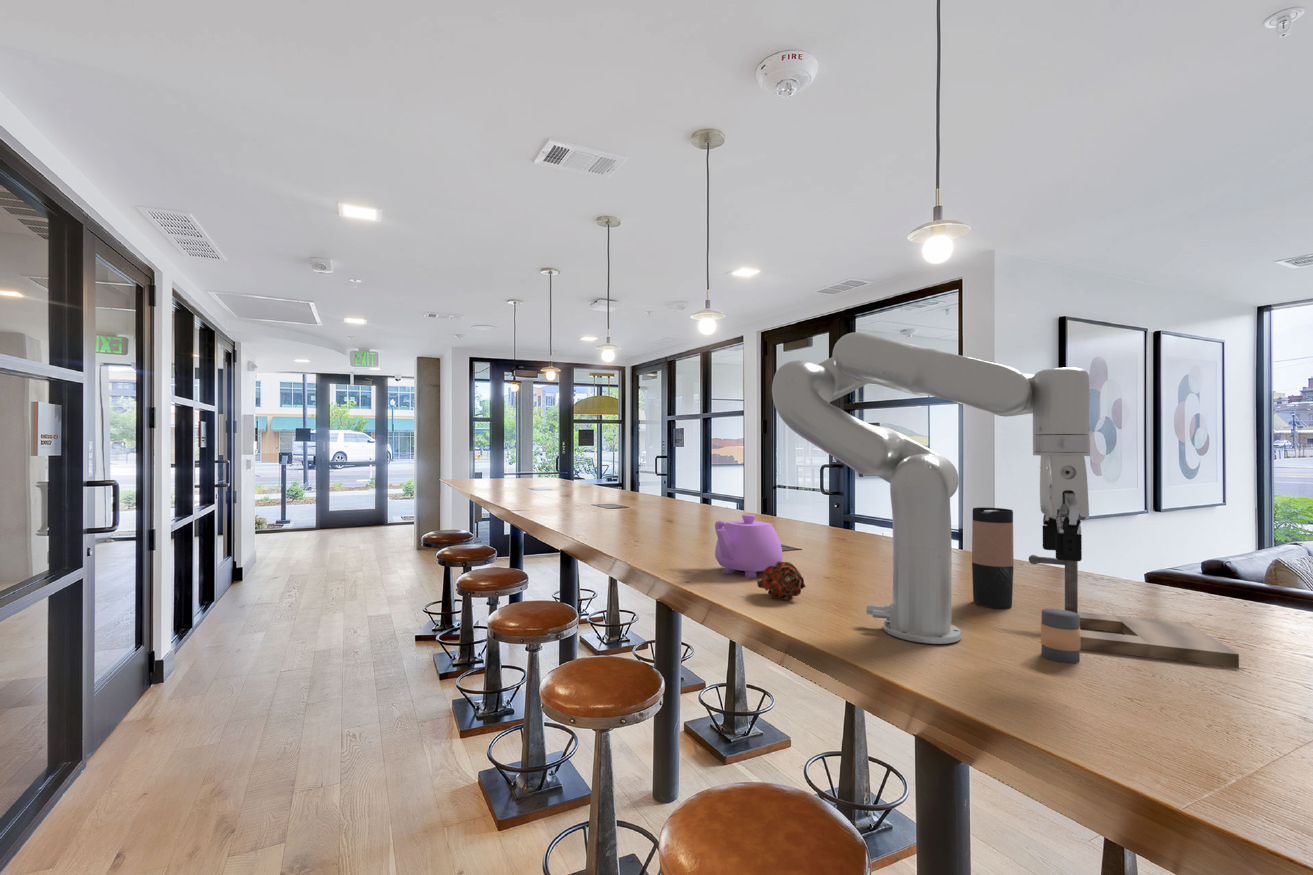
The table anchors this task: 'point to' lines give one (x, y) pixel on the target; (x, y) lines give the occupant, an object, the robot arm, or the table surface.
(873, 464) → the robot arm
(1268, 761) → the table surface
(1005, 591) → the travel mug
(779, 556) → the teapot
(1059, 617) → the coffee cup
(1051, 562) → the grey frame with post
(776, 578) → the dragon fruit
